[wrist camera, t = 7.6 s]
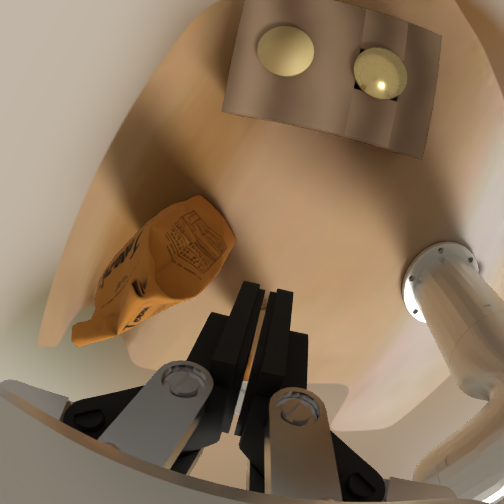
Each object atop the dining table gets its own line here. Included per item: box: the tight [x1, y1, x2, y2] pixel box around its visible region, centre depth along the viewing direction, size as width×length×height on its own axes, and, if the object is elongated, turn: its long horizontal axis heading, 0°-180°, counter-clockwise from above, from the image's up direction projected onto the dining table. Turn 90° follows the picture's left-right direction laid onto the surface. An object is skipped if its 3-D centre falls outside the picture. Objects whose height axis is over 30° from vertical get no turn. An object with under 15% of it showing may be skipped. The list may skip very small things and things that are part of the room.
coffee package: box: [72, 195, 236, 347], centre depth 32 cm, size 10×12×22 cm
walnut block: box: [222, 0, 442, 160], centre depth 27 cm, size 20×14×9 cm
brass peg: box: [353, 48, 407, 100], centre depth 27 cm, size 5×5×8 cm
